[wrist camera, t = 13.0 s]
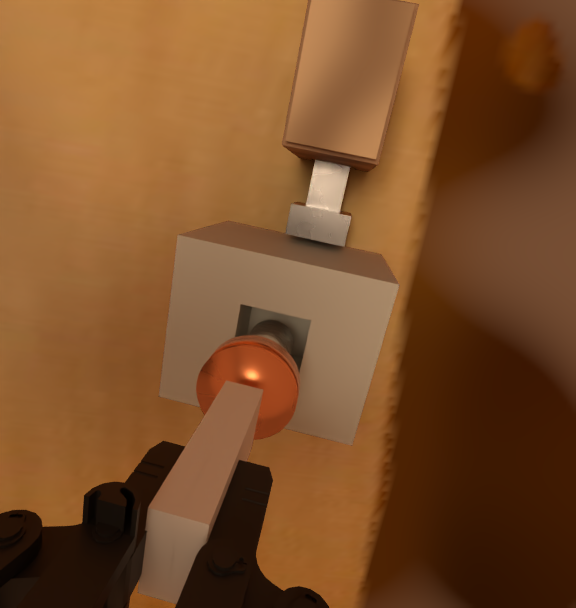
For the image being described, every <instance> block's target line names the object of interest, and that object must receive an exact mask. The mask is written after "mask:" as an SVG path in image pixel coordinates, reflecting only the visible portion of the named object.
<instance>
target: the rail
mask: <svg viewBox="0 0 576 608" xmlns="http://www.w3.org/2000/svg"><path fill="white" fill-rule="evenodd" d="M349 170H350V166H345V165H340V164H335V163H330V162H326V161H321V160H316V159H315V164H314V168H313V173H312V178H311V183H310V188H309V192H308V197H307V202H306V203H302V202H295V203H291V208H290V213H289V218H288V223H287V228H286V233H285V234H289V235H293V236H298V237H302V238H307V239H311V240H316V241H320V242H325V243H329V244H334V245H339V246H343V247H344V245H345V241H346V237H347V233H348V229H349V225H350V221H351V217H352V216H351V213H348V212H344V211H340V208H341V204H342V200H343V195H344V191H345V187H346V183H347V178H348V174H349Z"/></svg>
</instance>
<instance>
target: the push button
mask: <svg viewBox="0 0 576 608" xmlns="http://www.w3.org/2000/svg"><path fill="white" fill-rule="evenodd" d="M292 348H293V336H292V333H291V331H290V330H289V328H288V327H287V326H286V325H285V324H283V323H282V322H280V321H277V320H271V319H269V320H263V321H261V322H259V323H257V324H256V325H255V326H254V327H253V328H252V330H251V331H250V333H249V335H242V336H238V337H234V338H232V339H229V340H227V341H225V342H224V343H223V344H221V345H220V346H219V347H218V348H217V349H216V350H215V351H214V353H213V354H212V355H211V357H210V358H209V359H208V360H207V362H206V363H205V364H204V365H203V367H202V369H201V370H200V373H199V375H198V379H197V384H196V393H197V399H198V402H199V405H200V408H201V410H202V412H203V413H204V415H205V414H206V413H207V411H208V409H209V408H210V406H211V405H212V403H213V401H214V400H215V398H216V396H217V395H218V393H219V392H220V390H221V388H222V387H223V385H224V383H225V382H226V380H227V381H231V382H235V383H239V384H243V385H247V386H251V387H255V388H259V389H263V395H262V400H261V405H260V409H259V414H258V419H257V424H256V429H255V434H254V439H253V440H256V439H263V438H266V437H270V436H272V435H274V434H276V433H278V432H279V431H281V430H282V429H283V428H284V427H285V426H286V425H287V424H288V423H289V421H290V420H291V419H292V417H293V415H294V412H295V409H296V405H297V400H298V396H299V391H300V374H299V370H298V367H297V365H296V363H295V361H294V359H293V358H292V356H291V355H290V354H291V351H292Z"/></svg>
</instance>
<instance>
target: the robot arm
mask: <svg viewBox="0 0 576 608" xmlns="http://www.w3.org/2000/svg"><path fill="white" fill-rule="evenodd" d="M262 395H263V389H259V388H255V387H251V386H247V385H243V384H239V383H235V382H231V381H227V380H226V382H225V383H224V385H223V387H222V388H221V390H220V392H219V393H218V395H217V396H216V398H215V400H214V401H213V403H212V405H211V406H210V408H209V409H208V411H207V413H206V414H205V416H204V418H203V419H202V421H201V422H200V424H199V426H198V427H197V429H196V430H195V432H194V434H193V435H192V437H191V439H190V440H189V442H188V443H187V445H186V447H185V446H181V445H177V444H173V443H170V442H166V441H162V442H161V443H159V444H158V445H156V446H154V447H153V448H151V449H150V450H149V451H148V452H147V454H146V455H145V456H144V458H143V459H142V460H141V463H139V464H138V466H137V467H136V468H135V470H134V472H132V474H131V475H130V476H129V478H128V479H127V481H126V482H125V483H122V482H110V483H104V484H101V485H99V486H97V487H94V488H92V489H91V490H90V491H89V492H88V493H86V494H85V495H84V506H83V522H82V524H78V525H73V526H58V527H42V521H41V518H40V517H39V516H38V515H37V514H36V513H34V512H31V511H28V510H12V511H8V512H5V513H1V514H0V608H129V601H130V596H131V594H132V592H133V590H134V588H135V586H136V584H137V582H138V580H139V586H138V593H140V594H143V595H147V596H150V597H154V598H157V599H161V600H164V601H167V602H171V603H174V604H176V607H175V608H329V606H328V605H327V603H326V602H325V601H324V600H323V598H322V597H321V596H320V595H319V594H317V593H316V592H314V591H313V590H311V589H308V588H304V587H300V586H298V587H292V588H288V589H286V590H285V591H283V590H281V589H280V588H278V587H277V586H275V585H274V584H273V583H271V582H270V581H269V580H268V579H267V578H266V577H265V576H264V575H263V573H262V572H261V571H260V568H259V566H258V564H257V559H256V550H257V546H258V542H259V538H260V533H261V529H262V525H263V521H264V517H265V512H266V508H267V504H268V500H269V495H270V491H271V487H272V482H273V479H272V476H271V472H270V469H269V467H265V466H261V465H257V464H254V463H250V462H247V460H248V457H249V454H250V451H251V448H252V443H253V439H254V434H255V429H256V424H257V419H258V414H259V409H260V405H261V400H262Z"/></svg>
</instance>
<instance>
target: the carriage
mask: <svg viewBox="0 0 576 608" xmlns="http://www.w3.org/2000/svg"><path fill="white" fill-rule="evenodd" d="M418 6H419V4H416V3H410V2H405V1H399V0H308V5H307V10H306V16H305V21H304V26H303V32H302V37H301V43H300V48H299V54H298V59H297V65H296V70H295V76H294V81H293V87H292V92H291V97H290V103H289V108H288V114H287V119H286V125H285V130H284V136H283V141H282V145H283V146H284V147H285V148H287V149H288V150H289V151H291V152H292V153H293V154H295V155H296V156H298V157H299V158H303V159H308V160H312V159H316V160H321V161H326V162H330V163H335V164H340V165H345V166H350V167H355V169H356V170H361V171H366V172H368V171H370V170H371V169H373V168H374V167H376V166H377V165H378V164H379V160H380V156H381V152H382V148H383V144H384V140H385V136H386V132H387V128H388V124H389V120H390V116H391V113H392V109H393V105H394V101H395V97H396V93H397V89H398V85H399V81H400V77H401V73H402V69H403V65H404V61H405V57H406V54H407V50H408V46H409V42H410V38H411V34H412V30H413V26H414V22H415V18H416V14H417V10H418Z"/></svg>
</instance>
